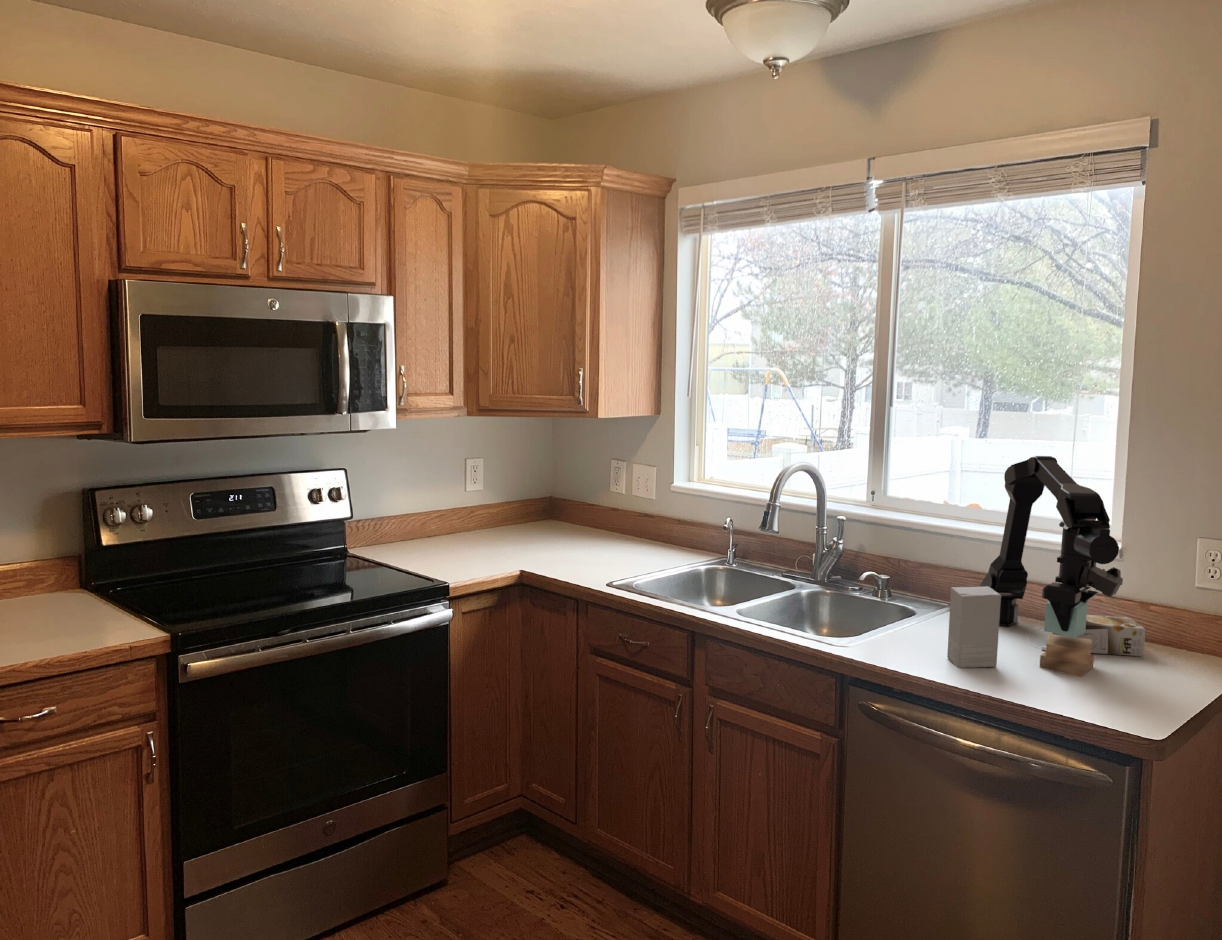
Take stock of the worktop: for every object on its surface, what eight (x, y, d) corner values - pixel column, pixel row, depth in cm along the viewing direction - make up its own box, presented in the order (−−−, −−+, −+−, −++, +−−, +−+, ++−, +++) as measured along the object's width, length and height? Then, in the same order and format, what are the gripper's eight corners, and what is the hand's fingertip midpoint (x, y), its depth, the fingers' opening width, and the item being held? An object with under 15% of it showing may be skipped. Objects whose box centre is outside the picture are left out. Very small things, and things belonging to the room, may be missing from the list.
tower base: (1039, 669, 194) (1040, 655, 193) (1052, 660, 199) (1053, 646, 199) (1080, 679, 188) (1082, 664, 188) (1093, 669, 194) (1094, 655, 194)
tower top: (1045, 658, 192) (1046, 643, 191) (1048, 647, 199) (1049, 633, 198) (1089, 664, 188) (1090, 650, 187) (1090, 653, 195) (1091, 639, 194)
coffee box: (1146, 628, 201) (1067, 623, 203) (1143, 657, 202) (1065, 652, 204) (1128, 616, 210) (1053, 612, 212) (1126, 644, 211) (1051, 640, 213)
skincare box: (983, 658, 199) (989, 585, 197) (998, 669, 192) (1004, 593, 190) (944, 658, 198) (949, 584, 196) (957, 669, 191) (962, 593, 189)
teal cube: (1044, 631, 193) (1046, 602, 192) (1054, 625, 197) (1057, 597, 197) (1074, 637, 189) (1077, 608, 188) (1085, 631, 193) (1087, 603, 193)
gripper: (1105, 567, 178) (1098, 646, 180) (1133, 553, 192) (1126, 627, 194) (1044, 557, 186) (1038, 633, 188) (1075, 544, 199) (1069, 616, 201)
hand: (1070, 627), depth 192 cm, fingers closed on teal cube, 6 cm apart
